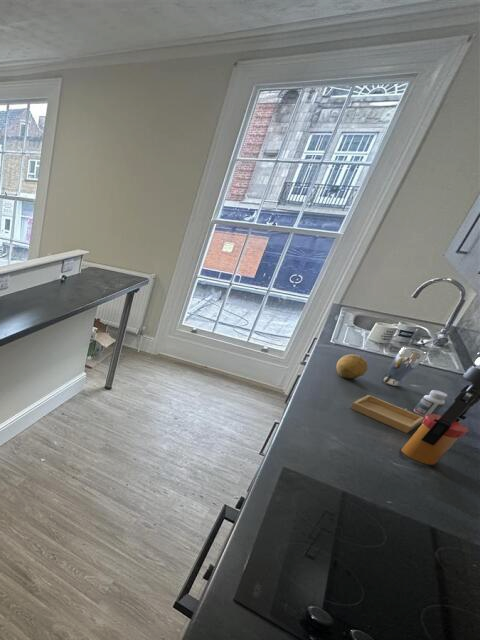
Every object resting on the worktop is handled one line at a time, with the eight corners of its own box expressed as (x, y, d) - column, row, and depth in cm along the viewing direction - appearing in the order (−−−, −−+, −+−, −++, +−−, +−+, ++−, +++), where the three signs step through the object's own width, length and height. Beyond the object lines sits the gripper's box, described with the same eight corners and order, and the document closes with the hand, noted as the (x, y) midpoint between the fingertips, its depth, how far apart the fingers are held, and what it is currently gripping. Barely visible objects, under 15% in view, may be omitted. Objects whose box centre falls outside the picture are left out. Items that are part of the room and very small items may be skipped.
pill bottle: (429, 413, 143) (447, 392, 138) (435, 420, 139) (453, 398, 134) (410, 408, 145) (427, 387, 141) (415, 414, 141) (432, 393, 137)
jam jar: (439, 460, 118) (468, 428, 112) (431, 467, 114) (460, 435, 108) (406, 445, 123) (432, 414, 117) (397, 451, 120) (423, 420, 114)
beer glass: (380, 377, 166) (403, 344, 159) (402, 384, 162) (427, 351, 154) (377, 381, 162) (401, 348, 155) (400, 389, 158) (425, 355, 150)
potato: (375, 356, 161) (347, 346, 165) (373, 367, 152) (344, 356, 157) (358, 375, 166) (332, 365, 171) (355, 387, 158) (328, 376, 163)
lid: (427, 417, 119) (432, 411, 118) (467, 433, 112) (472, 427, 111) (417, 423, 115) (422, 417, 114) (458, 440, 109) (463, 434, 107)
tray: (420, 423, 136) (424, 417, 135) (406, 433, 130) (411, 427, 128) (364, 400, 147) (368, 394, 146) (349, 408, 141) (353, 402, 140)
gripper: (483, 358, 112) (427, 423, 123) (461, 370, 102) (403, 440, 113) (523, 370, 106) (461, 437, 118) (504, 384, 96) (438, 456, 108)
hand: (432, 438), depth 116 cm, fingers closed on lid, 8 cm apart
